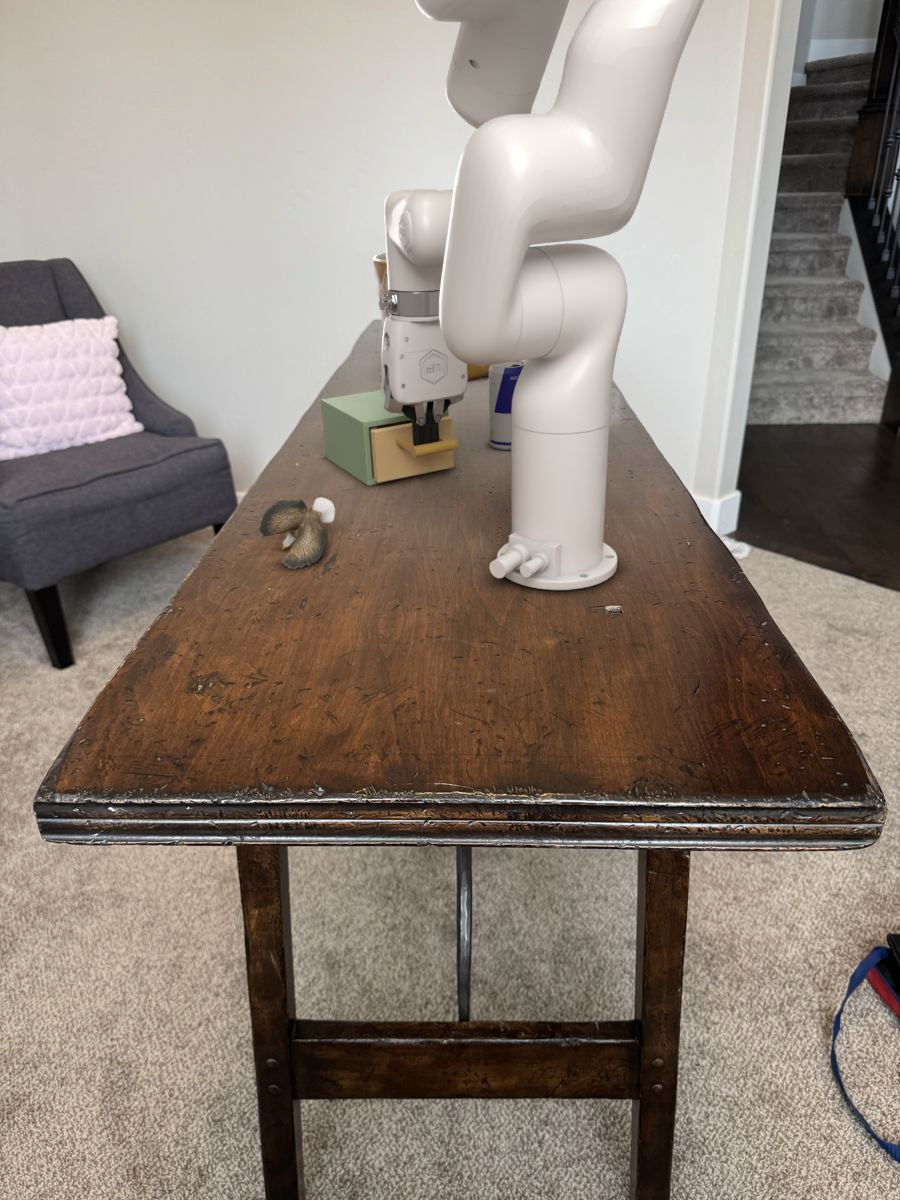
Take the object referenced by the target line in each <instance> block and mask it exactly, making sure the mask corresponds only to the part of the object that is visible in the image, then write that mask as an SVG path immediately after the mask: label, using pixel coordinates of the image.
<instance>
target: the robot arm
mask: <svg viewBox="0 0 900 1200" xmlns="http://www.w3.org/2000/svg"><path fill="white" fill-rule="evenodd" d="M704 2H705V0H594V1H593V2H592V4H591V5H590V6H589V8H588V9H587V11H586V13H584V16H583V18H582V19H581V21H580V22H579V23H578V25H577V28H576V29H575V31H574V33H573V35H572V37H571V39H570V41H569V43H568V46H567V49H566V55H565V58H564V64H563V70H562V75H561V80H560V84H559V88H558V91H557V95H556V98H555V101H554V103H553V106H552V107H551V108H550V109H549V110H548V111H547V112H545V113H532V111H533V110H532V109H533V106H534V104H535V100H536V98H537V95H538V92H539V90H540V87H541V83H542V80H543V78H544V75H545V72H546V69H547V66H548V64H549V61H550V58H551V55H552V52H553V49H554V46H555V43H556V40H557V37H558V34H559V31H560V29H561V25H562V23H563V20H564V17H565V15H566V12H567V8H568V5H569V3H570V0H414V3H415V5H416V7H417V8H418V10H419V11H420V12H421V14H423V15H424V16H426V17H427V18H428V19H430V20H432V21H436V22H445V23H460V24H459V29H458V33H457V36H456V40H455V44H454V48H453V51H452V52H453V53H452V56H451V60H450V64H449V68H448V72H447V75H446V78H445V83H444V84H445V85H444V92H445V97H446V100H447V102H448V104H449V106H450V107H451V109H452V110H453V111H454V113H455V114H456V115H457V116H458V117H459V118H461V119H462V120H463V121H464V122H466V123H467V124H468V125H469V126H471V127H472V128H475V131H474V132H473V133H472V134H471V136H470V137H469V139H468V140H467V143H466V144H465V147H464V149H463V151H462V153H461V156H460V158H459V161H458V165H457V167H456V173H455V178H454V184H453V188H452V189H446V190H445V189H444V190H439V189H433V188H431V189H430V188H428V189H427V188H423V189H422V188H420V189H418V188H416V189H415V188H414V189H400V190H395V191H392V192H389V194H388V195H387V196H386V197H385V200H384V203H383V218H384V233H385V235H384V236H385V253H386V256H387V274H388V288H389V289H388V290H387V296H385V297H384V298H380V299H379V298H378V307H379V310H380V309H381V310H384V309H386V310H388V312H389V313H390V316H388V317H386V318H385V323H384V330H383V329H382V340H381V353H380V355H381V357H380V358H381V359H380V367H381V368H380V373H381V375H380V377H381V390H383V393H384V395H385V396H386V397H385V403H384V409H385V410H386V411H388V412H390V413H399V414H404V415H405V416H406V417H407V418H408V419H409V420H411V421H412V433H413V445H414V446H418V445H423V444H428V443H434V442H439V422H441V421H442V418H443V414H444V413H445V411H446V410H447V409H448V410H449V407H450V406H453V405H455V404H457V403H460V402H462V401H463V400H464V398H465V396H464V395H465V393H466V392H467V390H468V383H469V380H468V374H467V364H471V365H494V364H501V363H507V362H513V361H525V362H524V363H525V365H524V367H523V369H522V371H521V373H520V376H519V378H518V381H517V383H516V386H515V390H514V393H513V399H512V409H511V421H512V422H511V450H510V451H511V454H510V455H511V459H510V460H511V462H510V463H511V534H509V535H508V542H507V543H505V544H504V545H503V546H502V547H500V548H499V549H498V552H496V558H495V559H493V560H491V561H490V563H489V564H488V565H489V566H488V567H489V571H490V573H491V575H492V576H493V577H494V578H497V579H503V578H506V579H507V580H509V581H511V582H513V583H516V584H518V585H520V586H524V587H528V588H532V589H536V590H537V589H538V590H543V591H545V590H546V591H572V590H580V589H586V588H591V587H593V586H596V585H599V584H601V583H603V582H605V581H607V580H608V579H610V578H611V577H612V576H614V574H615V573H616V572H617V568H618V554H617V553H616V551H615V550H614V549H613V548H612V547H611V546H609V544H608V543H605V542H604V539H605V538H604V537H605V518H606V517H605V515H606V497H607V476H608V460H609V459H608V458H609V435H610V422H611V406H612V405H611V403H612V388H613V379H614V369H615V363H616V358H617V352H618V347H619V343H620V339H621V335H622V331H623V327H624V323H625V318H626V313H627V306H628V284H627V279H626V276H625V273H624V270H623V269H622V266H621V265H620V263H619V262H618V260H617V259H616V258H615V257H614V255H612V254H611V253H609V252H608V251H607V250H605V249H603V248H601V247H599V246H595V245H593V244H588V243H587V244H586V243H580V242H579V243H577V242H576V243H574V242H573V241H583V240H590V239H597V238H602V237H606V236H610V235H612V234H616V233H617V232H620V231H621V230H622V229H623V228H624V227H626V226H627V225H628V224H629V222H630V221H631V219H632V218H633V216H634V214H635V212H636V210H637V207H638V204H639V202H640V198H641V196H642V193H643V190H644V186H645V183H646V180H647V176H648V173H649V170H650V165H651V162H652V158H653V154H654V152H655V147H656V146H657V145H656V144H657V140H658V137H659V134H660V130H661V127H662V123H663V120H664V117H665V113H666V109H667V107H668V102H669V99H670V94H671V90H672V86H673V83H674V79H675V76H676V73H677V70H678V66H679V63H680V60H681V57H682V56H683V55H682V54H683V52H684V51H685V50H684V49H685V48H686V45H687V43H688V40H689V37H690V35H691V33H692V31H693V27H694V26H695V23H696V20H697V19H698V16H699V14H700V11H701V9H702V6H703V4H704ZM563 242H567V243H563ZM568 242H572V243H568ZM550 243H555V244H550ZM540 244H541V245H540ZM542 244H545V245H542ZM534 245H536V246H534ZM423 403H425V410H424V406H423Z"/></svg>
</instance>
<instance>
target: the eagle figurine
mask: <svg viewBox="0 0 900 1200" xmlns="http://www.w3.org/2000/svg"><path fill="white" fill-rule="evenodd" d="M335 516H336V507H335V504H334V502H332V501H331V500H330V499H328V498H326V497H321V496H320V497H316V498H315V500H314V501H313V504H312V506H311V507H309V508H308V506H307V504H306V503H305V501H303V499H302V498H299V499H296V500H294V499H292V500H286V499H285V498H284V497H280V498H279V500H276V502H274V503H273V504H271V505H270V507H268V508H267V509H266V510H265V511H264V513H263V514H262V516H261V519H260V521H259V526H258V527H257V530H258V531H259V534H262V537H269V536H274V535H279V534H280V535H281V534H282V535H283V534H284V533H286V532H288V533H287V535H286V536H285V538H284V539H283V541H282V548H281V550H286V548H289V547H290V546H291V548H290V549H289V551H288V552H287V553H286V554H285V556H283V558H282V560H281V564H283V566H284V567H287V568H288V569H293V570H296V569H299V568H304V567H306V566H311V565H312V564H315V563H316V562H317V561H319V560H320V558H321V557H322V555H323V554H324V550H325V548H326V547H325V546H326V545H327V541H328V540H329V533H328V531H327V530H326V529H325V528H324V526H322V524H331V523H333V522H334V521H335Z"/></svg>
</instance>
